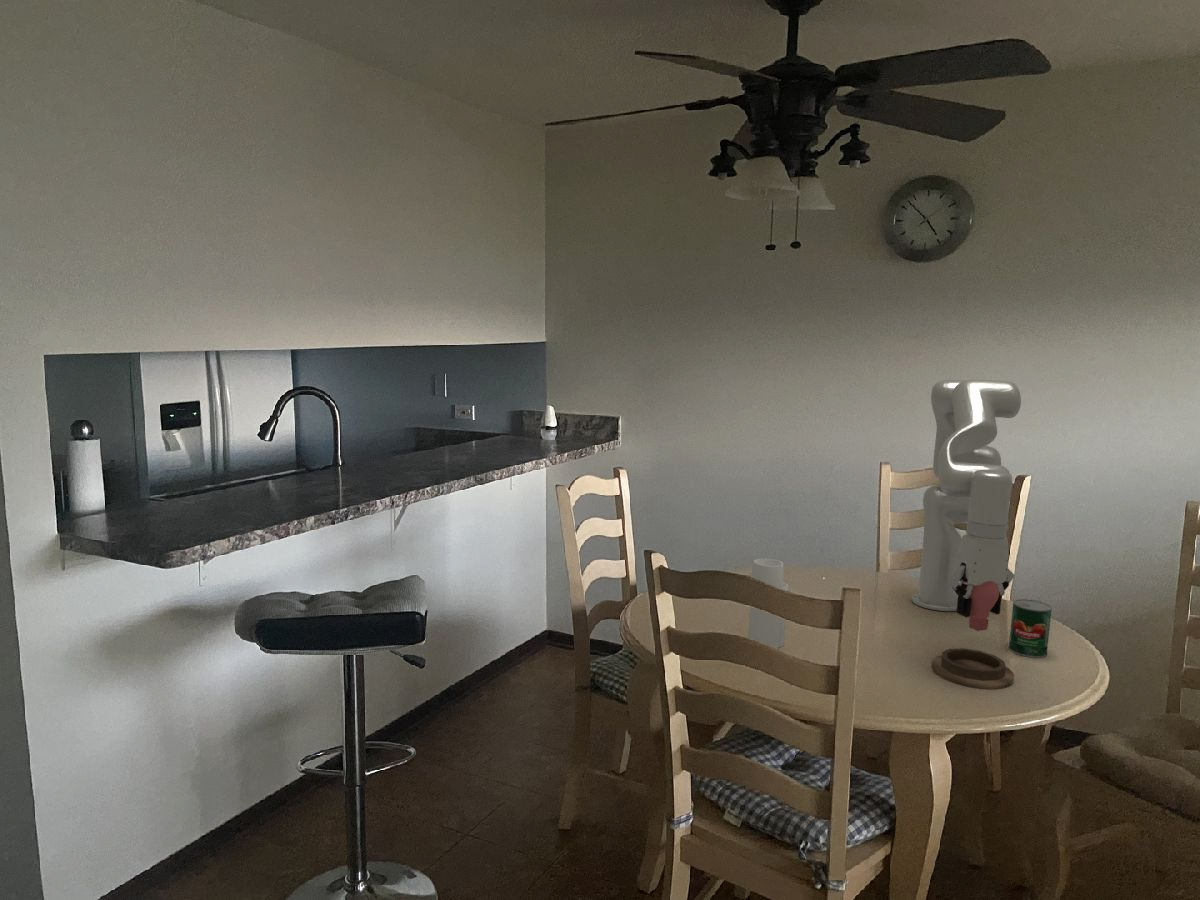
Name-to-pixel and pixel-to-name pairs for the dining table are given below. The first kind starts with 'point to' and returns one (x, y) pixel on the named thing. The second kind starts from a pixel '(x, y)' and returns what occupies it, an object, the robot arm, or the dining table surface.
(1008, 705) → the dining table surface
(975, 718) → the dining table surface
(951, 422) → the robot arm
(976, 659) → the holder
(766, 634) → the vase
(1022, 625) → the canned tomato
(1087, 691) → the dining table surface
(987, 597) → the light bulb
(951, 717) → the dining table surface
